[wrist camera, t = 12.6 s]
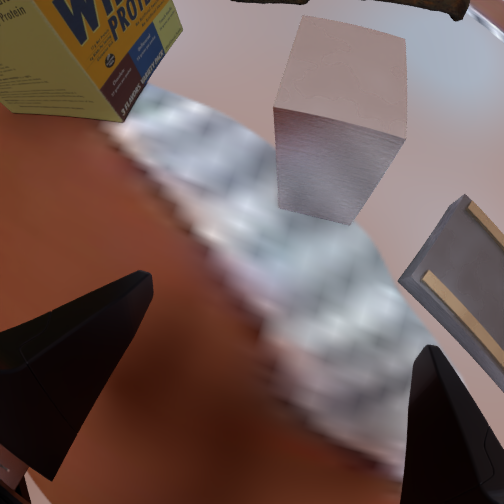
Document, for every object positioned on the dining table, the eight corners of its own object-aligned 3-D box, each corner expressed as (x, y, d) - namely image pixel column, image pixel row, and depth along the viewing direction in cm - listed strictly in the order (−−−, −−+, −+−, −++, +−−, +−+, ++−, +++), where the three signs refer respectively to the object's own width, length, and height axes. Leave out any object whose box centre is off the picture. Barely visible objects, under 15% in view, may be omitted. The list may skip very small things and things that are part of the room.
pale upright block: (362, 148, 18) (405, 39, 9) (350, 225, 17) (406, 138, 8) (298, 133, 18) (302, 15, 10) (278, 208, 17) (272, 106, 9)
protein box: (125, 124, 20) (1, -43, 5) (12, 114, 22) (-83, 28, 7) (187, 29, 22) (134, -122, 6) (66, 37, 24) (1, -56, 9)
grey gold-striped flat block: (550, 325, 14) (570, 324, 12) (509, 400, 13) (530, 405, 11) (449, 205, 16) (467, 191, 14) (397, 281, 16) (413, 275, 14)
